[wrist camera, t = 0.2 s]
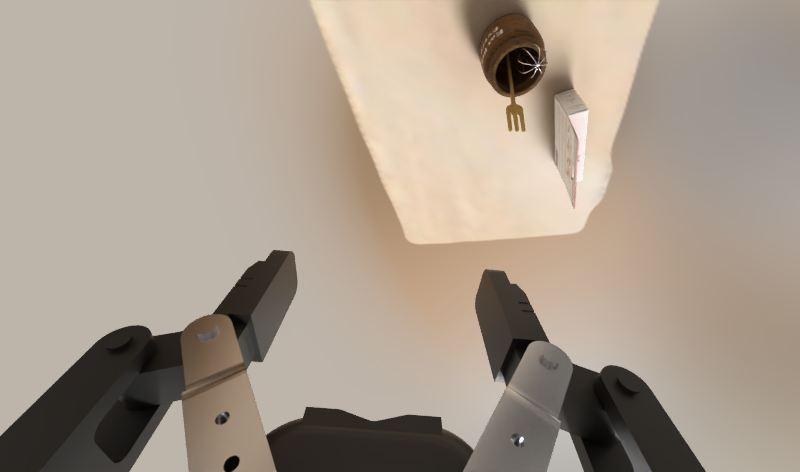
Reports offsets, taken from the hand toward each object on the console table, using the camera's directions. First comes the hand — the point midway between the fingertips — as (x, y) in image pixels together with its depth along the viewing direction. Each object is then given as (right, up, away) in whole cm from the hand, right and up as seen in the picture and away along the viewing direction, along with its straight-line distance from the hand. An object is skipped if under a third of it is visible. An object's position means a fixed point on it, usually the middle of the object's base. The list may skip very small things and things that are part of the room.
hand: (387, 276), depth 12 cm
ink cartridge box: (+23, +16, +27) cm, 39 cm away
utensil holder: (+12, +23, +20) cm, 33 cm away
